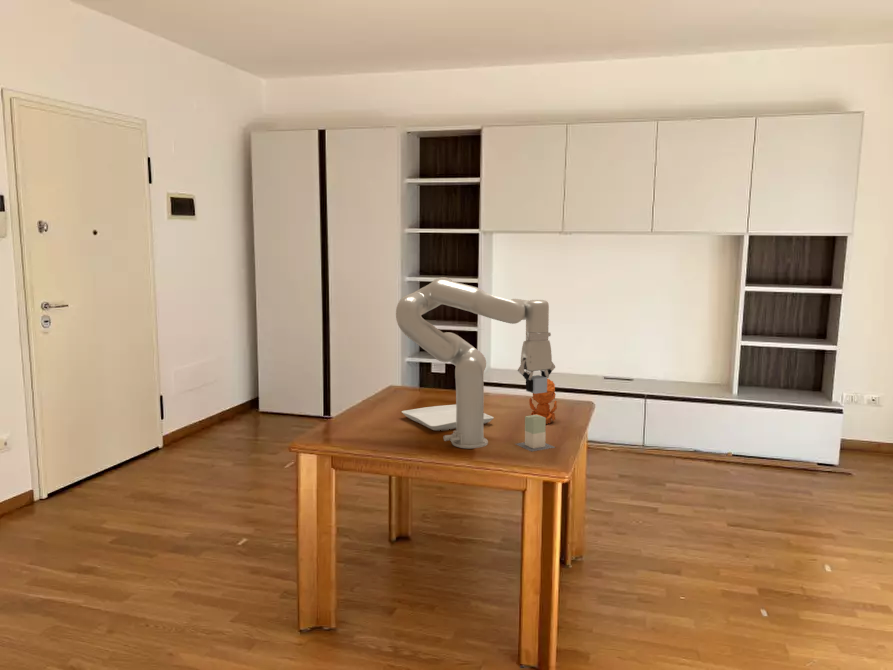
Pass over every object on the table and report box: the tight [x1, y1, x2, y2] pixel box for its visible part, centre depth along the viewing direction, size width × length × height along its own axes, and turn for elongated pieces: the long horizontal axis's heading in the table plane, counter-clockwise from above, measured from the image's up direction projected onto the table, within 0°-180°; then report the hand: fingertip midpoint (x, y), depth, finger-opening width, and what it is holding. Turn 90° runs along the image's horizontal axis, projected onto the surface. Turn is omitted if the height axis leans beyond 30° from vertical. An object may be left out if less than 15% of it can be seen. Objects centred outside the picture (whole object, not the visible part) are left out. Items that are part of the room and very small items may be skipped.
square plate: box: [400, 403, 495, 431], centre depth 272 cm, size 27×27×4 cm
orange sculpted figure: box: [528, 378, 558, 425], centre depth 270 cm, size 11×11×18 cm
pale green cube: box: [524, 414, 547, 434], centre depth 238 cm, size 5×5×5 cm
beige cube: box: [524, 430, 546, 448], centre depth 239 cm, size 5×5×5 cm
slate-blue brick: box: [525, 374, 548, 394], centre depth 236 cm, size 5×5×5 cm
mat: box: [515, 441, 556, 453], centre depth 239 cm, size 10×10×1 cm
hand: (536, 389), depth 236 cm, fingers closed on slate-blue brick, 5 cm apart
